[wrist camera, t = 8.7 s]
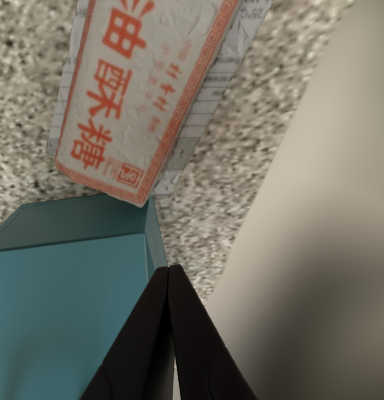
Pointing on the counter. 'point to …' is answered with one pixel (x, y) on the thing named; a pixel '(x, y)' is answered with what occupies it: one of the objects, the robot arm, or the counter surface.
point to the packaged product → (145, 89)
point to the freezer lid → (64, 312)
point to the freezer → (83, 224)
